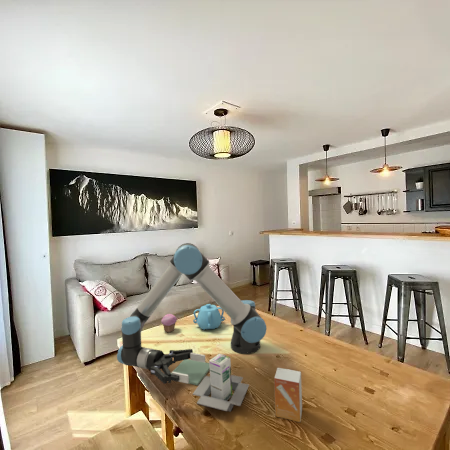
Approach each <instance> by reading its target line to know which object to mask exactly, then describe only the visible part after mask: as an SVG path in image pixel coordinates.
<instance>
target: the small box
mask: <svg viewBox="0 0 450 450" xmlns="http://www.w3.org/2000/svg"><path fill="white" fill-rule="evenodd" d="M302 389H303V388H302V372H301V371H300V370H299V371H298V370H293V369H288V368H282V367H276V372H275V375H274V409H275V410H274V412H275V413H274V414H275V417H278V418H282V419H285V420H289V421H293V422H297V423H301V421H302V420H301V419H302V412H303V394H302V393H303V391H302Z"/></svg>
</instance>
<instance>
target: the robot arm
mask: <svg viewBox="0 0 450 450" xmlns="http://www.w3.org/2000/svg"><path fill="white" fill-rule="evenodd" d="M183 275H185V276H186V278H187V279H188V280H190V281H195V282H196V283H197V284H198V285H199V286H200V287H201V289H202V290H203V291H205V293H206V294H207V295H208V296H209V297H210V298H211V299H212V300H213V301H214V302H215V303H216V305H218V307H221V308H222V309H223V310H224V312H225V314H226V315H227V316H228V317H229V318H230V324H231V325H232V326H233V330H232V331H233V332H232V335H231V339H230V349H231V350H232V351H233V352H235V353H238V354H242V355H247V354H253V353H256V352H258V351H259V350H261V340H263V339H264V337H265V335H267V334H266V333H267V323H266V322H265V320H264V319H263V318H262V316H261V315H260V314H259V313H258V312H257V310H256V307H257V306H256V302H255V301H253V300H250V299H249V300H248V299H244V300H241V299H240V298H239V297H238V296H237V295H236V294H235V292H234V291H232V289H231V288H230V287H229V286H228V285H227V283H225V282H224V280H222V278H220V277H219V275H218V274H217V273H216V272H215V271H214V270H213V269H212V268H211V267H210V261H209V259H208V258H206V256H205V255H204V254H203V253H202V252H201V251H200V250H199V248H198V247H197V246H196V244H193V243H191V242H186V243H183V244H180V246H178V247H177V249H176V250H175V252H174V255H173V256H172V257H171V259H170V260H169V265H168V267H167V268H166V269H165V271H164V272H162V274H161V275H160V277H159V278H158V279H157V281H156V282H155V283H154V285H153V286H152V287H151V288H150V290H149V291H148V292H147V294H146V295H145V296H144V298H143V300H142V301H141V302H140V303H139V305H138V306H137V307H136V309H135V310H134V311H133V312H132V313H131V314H130V316H127V317H126V318H124V319H123V320H122V321H121V328H120V329H121V340H122V341H121V342H122V344H121V346H120V347H119V348H118V350H117V354H116V359H117V362H118V363H120V364H123V365H125V366H132V367H136V368H139V369H140V368H141V369H145V370H149V371H150V374H151V375H153V376H155V377H156V378H157V379H158V380H159V381H160V382H161V383H162V384H164V385H167V383H168V384H172V382H179V383H184V384H188V385H189V376H188V375H187V374H182V373H177V372H173V371H170V369H169V368H170V366H172V365H174V364H176V362H182V361H183V360H186V359H190V360H193V361H198V362H204V363H205V362H206V354H200V353H196V352H193V348H188V349H186V348H185V349H176V350H175V349H174V350H173V349H170V350H169V351H168V352H169V353H164V351H162V350H161V349H154V348H149V347H145V346H142V331H143V328H144V327H145V324H146V323H147V322H148V320H149V319H150V317H151V316H152V314H153V313H154V312H155V311H156V310H157V308H158V307H159V305H160V304H161V303H162V302H163V300H164V299H165V298H166V297H167V295H168V293H169V292H171V289H172V288H173V287H174V286H175V284H176V283H177V282H178V281H179V279H180V278H181V276H183ZM222 309H221V310H222ZM171 373H172V374H171Z"/></svg>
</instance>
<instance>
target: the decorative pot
mask: <svg viewBox="0 0 450 450" xmlns="http://www.w3.org/2000/svg"><path fill="white" fill-rule="evenodd" d="M219 310H221V313H220V311H219ZM197 312H198V313H197ZM224 312H225V311H224V310H223V309H222V308H221V307H220V306H218V307H217V305H215V304H211V303H207V304H205V305H202V306H200V308H197V309H195V310H194V311H193V316H194V319H193V324H197V326H198V327H199V328H200V329H201V330H202V329H203V331H206V330H216V329H215V328H217V329H218V328H219V327H220V325H221V324H222V322H224V321H225V319H226V317H225V316H224ZM196 313H197V316H196ZM205 329H206V330H205Z"/></svg>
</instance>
